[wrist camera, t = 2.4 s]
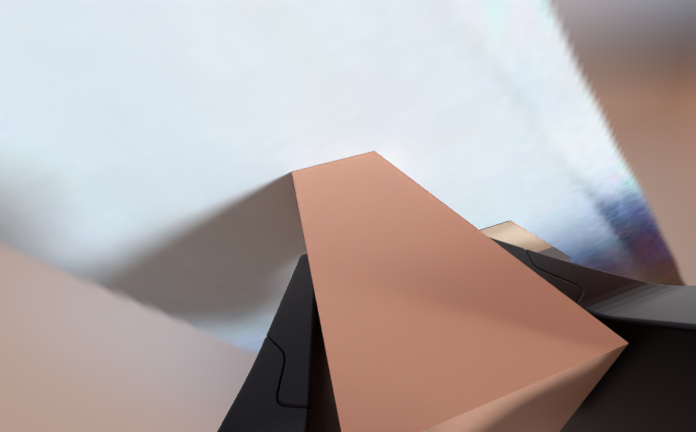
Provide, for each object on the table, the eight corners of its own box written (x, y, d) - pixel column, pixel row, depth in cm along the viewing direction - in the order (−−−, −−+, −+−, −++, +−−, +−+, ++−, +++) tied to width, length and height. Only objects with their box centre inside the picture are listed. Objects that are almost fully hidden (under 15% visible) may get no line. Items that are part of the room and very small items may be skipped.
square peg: (382, 220, 14) (549, 444, 5) (312, 240, 13) (380, 523, 5) (374, 151, 12) (629, 343, 3) (291, 171, 11) (347, 463, 3)
